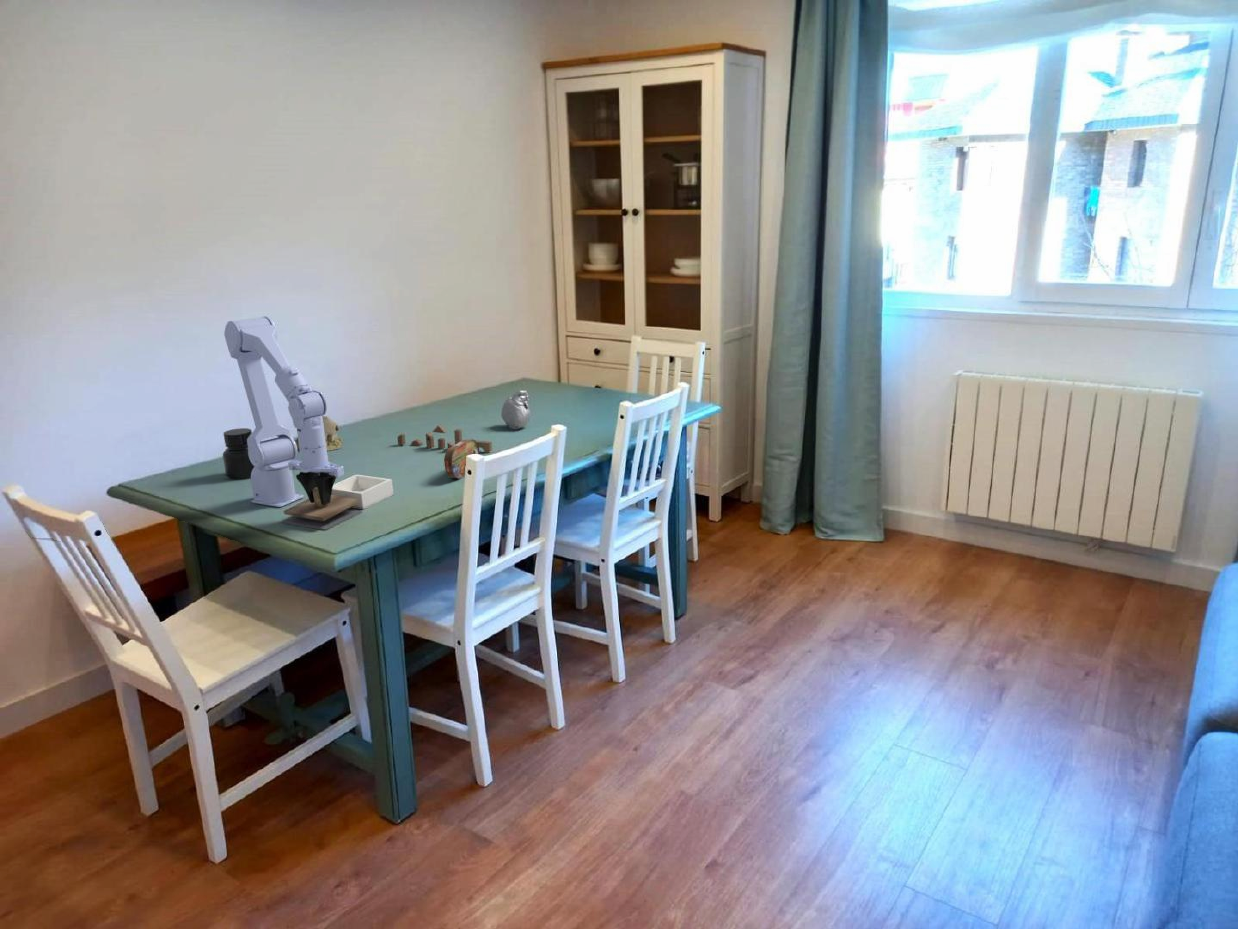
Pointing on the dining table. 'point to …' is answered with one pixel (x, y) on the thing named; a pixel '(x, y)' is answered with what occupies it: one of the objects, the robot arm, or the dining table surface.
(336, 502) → the lid
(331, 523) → the mat
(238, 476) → the ink bottle
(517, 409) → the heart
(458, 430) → the wooden blocks
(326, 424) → the ceramic model
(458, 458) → the tin
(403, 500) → the dining table surface
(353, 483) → the box
